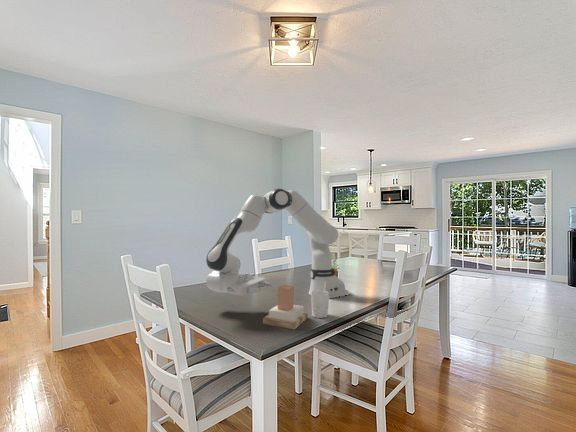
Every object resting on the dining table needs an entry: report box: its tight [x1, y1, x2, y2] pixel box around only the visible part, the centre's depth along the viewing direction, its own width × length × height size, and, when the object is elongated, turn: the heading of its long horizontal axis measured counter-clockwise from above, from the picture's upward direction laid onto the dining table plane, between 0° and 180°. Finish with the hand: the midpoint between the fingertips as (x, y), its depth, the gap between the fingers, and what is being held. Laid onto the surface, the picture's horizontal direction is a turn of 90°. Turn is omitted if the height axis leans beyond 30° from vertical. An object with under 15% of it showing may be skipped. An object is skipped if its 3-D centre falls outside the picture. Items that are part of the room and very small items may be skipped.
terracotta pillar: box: [277, 284, 295, 311], centre depth 125 cm, size 5×5×9 cm
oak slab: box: [262, 311, 309, 331], centre depth 125 cm, size 14×14×3 cm
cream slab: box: [268, 304, 305, 322], centre depth 125 cm, size 11×11×3 cm
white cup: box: [310, 291, 330, 319], centre depth 131 cm, size 8×8×10 cm
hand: (265, 287), depth 129 cm, fingers open, 8 cm apart
